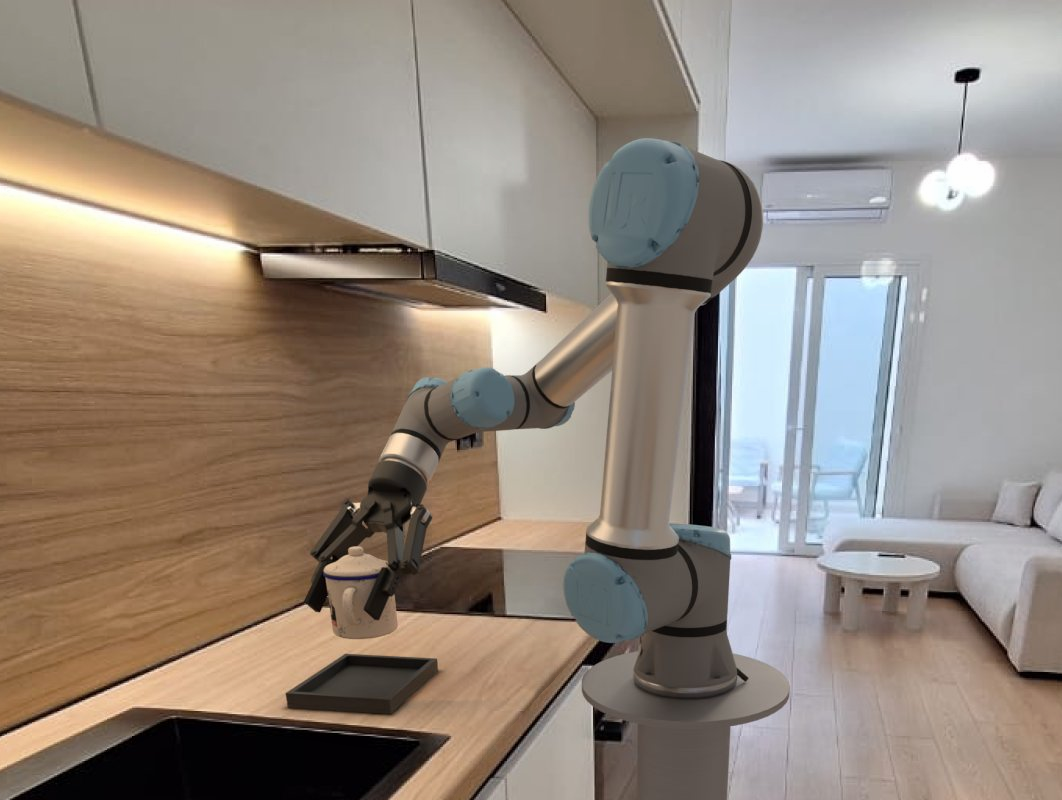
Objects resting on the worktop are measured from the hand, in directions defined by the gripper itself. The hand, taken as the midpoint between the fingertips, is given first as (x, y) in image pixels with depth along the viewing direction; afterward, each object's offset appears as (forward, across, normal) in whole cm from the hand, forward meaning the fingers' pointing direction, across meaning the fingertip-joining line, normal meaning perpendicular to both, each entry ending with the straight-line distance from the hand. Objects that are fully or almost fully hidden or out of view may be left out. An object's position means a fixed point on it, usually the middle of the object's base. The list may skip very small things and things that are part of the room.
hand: (341, 610), depth 107 cm
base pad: (+6, 0, -11) cm, 13 cm away
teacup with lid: (+1, -1, -5) cm, 5 cm away
